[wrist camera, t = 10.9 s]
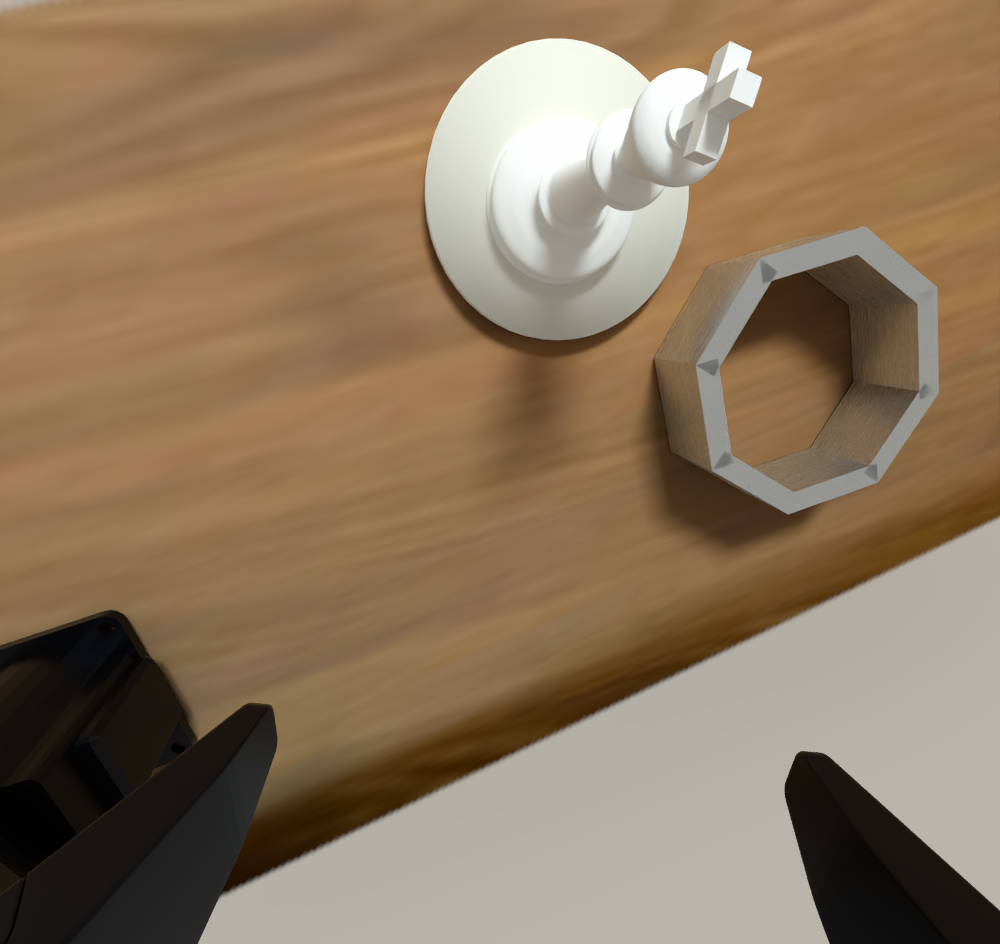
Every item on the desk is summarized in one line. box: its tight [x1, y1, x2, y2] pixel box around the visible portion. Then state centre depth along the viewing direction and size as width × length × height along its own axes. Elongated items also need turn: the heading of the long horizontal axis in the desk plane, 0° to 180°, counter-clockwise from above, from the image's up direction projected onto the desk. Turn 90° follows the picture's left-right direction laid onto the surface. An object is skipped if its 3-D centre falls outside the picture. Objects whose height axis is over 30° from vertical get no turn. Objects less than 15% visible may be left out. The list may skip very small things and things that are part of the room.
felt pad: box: [424, 39, 689, 340], centre depth 18 cm, size 9×9×1 cm
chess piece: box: [486, 41, 762, 284], centre depth 13 cm, size 5×5×10 cm
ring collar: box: [654, 226, 939, 514], centre depth 20 cm, size 9×9×3 cm
